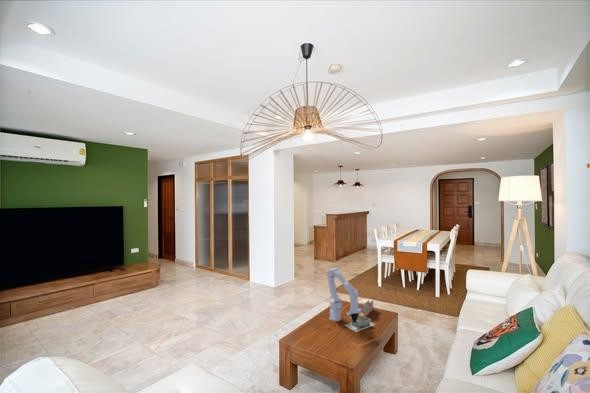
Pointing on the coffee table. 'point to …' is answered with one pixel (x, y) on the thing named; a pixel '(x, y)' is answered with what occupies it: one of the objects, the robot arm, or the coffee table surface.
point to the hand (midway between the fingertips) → (354, 322)
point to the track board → (356, 327)
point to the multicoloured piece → (365, 306)
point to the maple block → (361, 317)
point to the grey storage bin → (360, 324)
